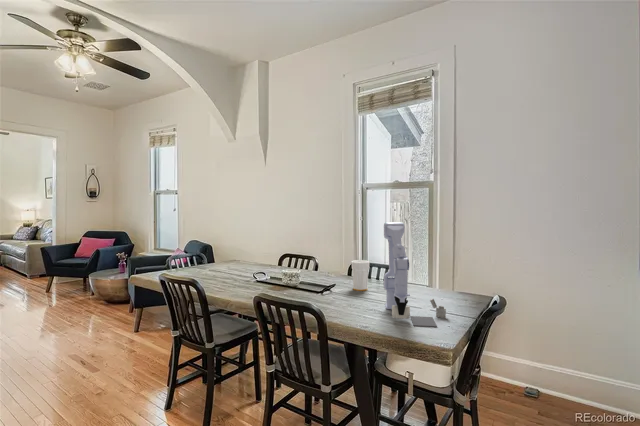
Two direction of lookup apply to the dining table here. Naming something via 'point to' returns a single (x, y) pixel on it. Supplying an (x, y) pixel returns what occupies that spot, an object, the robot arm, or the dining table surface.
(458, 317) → the dining table surface
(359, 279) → the cup
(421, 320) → the mat
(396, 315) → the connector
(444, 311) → the lighter
